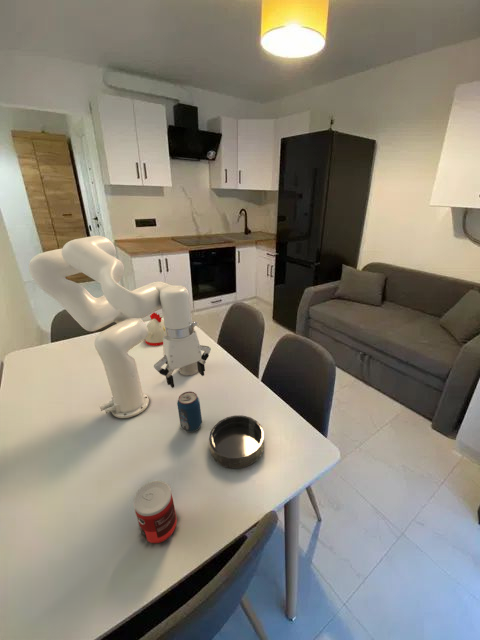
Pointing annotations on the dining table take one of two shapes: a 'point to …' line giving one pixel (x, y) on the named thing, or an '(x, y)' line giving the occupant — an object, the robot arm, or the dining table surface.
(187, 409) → the soda can
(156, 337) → the kitchen timer
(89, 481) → the dining table surface
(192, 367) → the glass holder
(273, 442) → the dining table surface
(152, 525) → the canned food
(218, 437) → the bowl
